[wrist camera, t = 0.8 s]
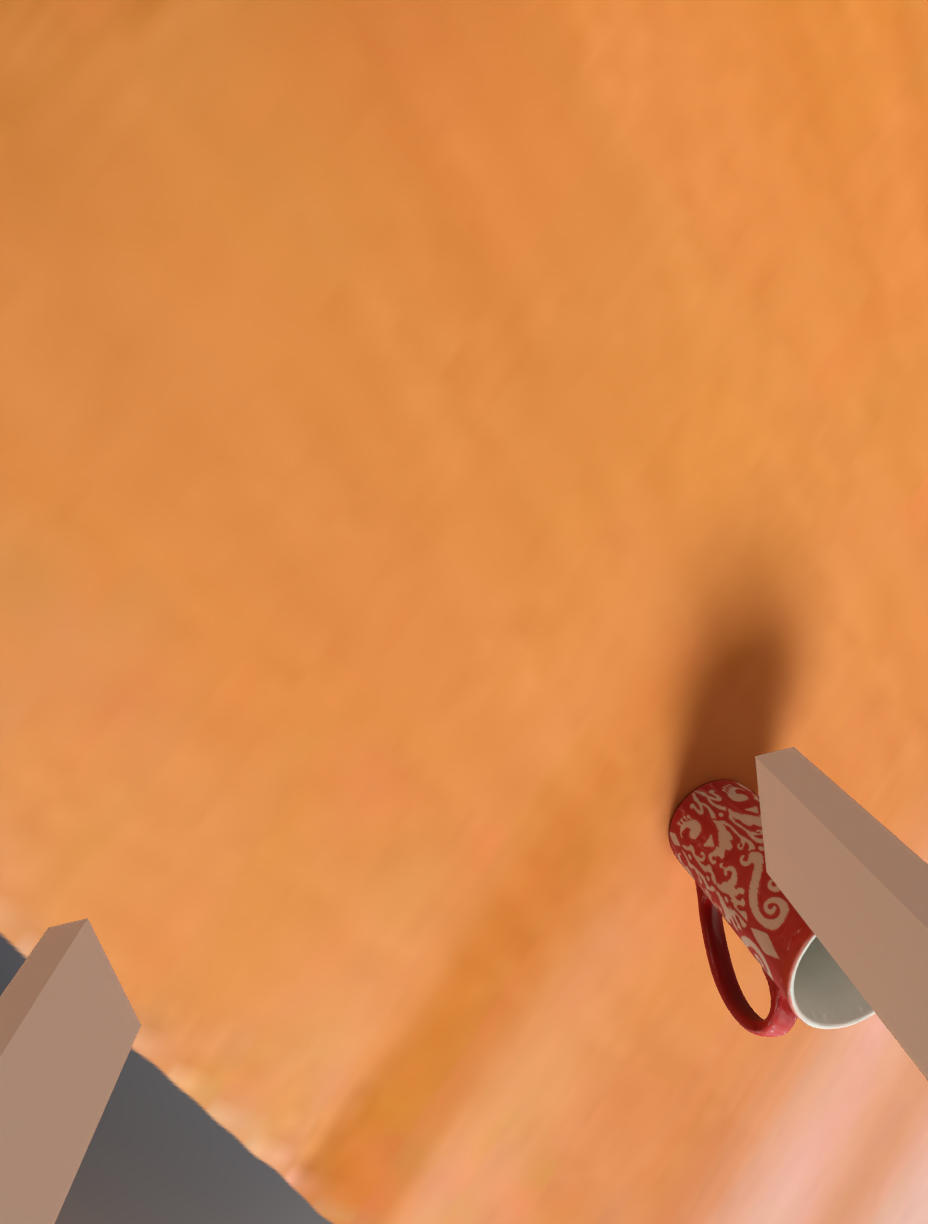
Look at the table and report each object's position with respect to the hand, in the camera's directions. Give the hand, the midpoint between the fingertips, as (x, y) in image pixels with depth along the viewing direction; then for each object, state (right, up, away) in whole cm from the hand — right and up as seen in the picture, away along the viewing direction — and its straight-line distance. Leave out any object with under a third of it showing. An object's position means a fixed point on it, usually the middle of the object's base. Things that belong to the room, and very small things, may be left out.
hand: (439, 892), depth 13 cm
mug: (+18, -11, +36) cm, 42 cm away
